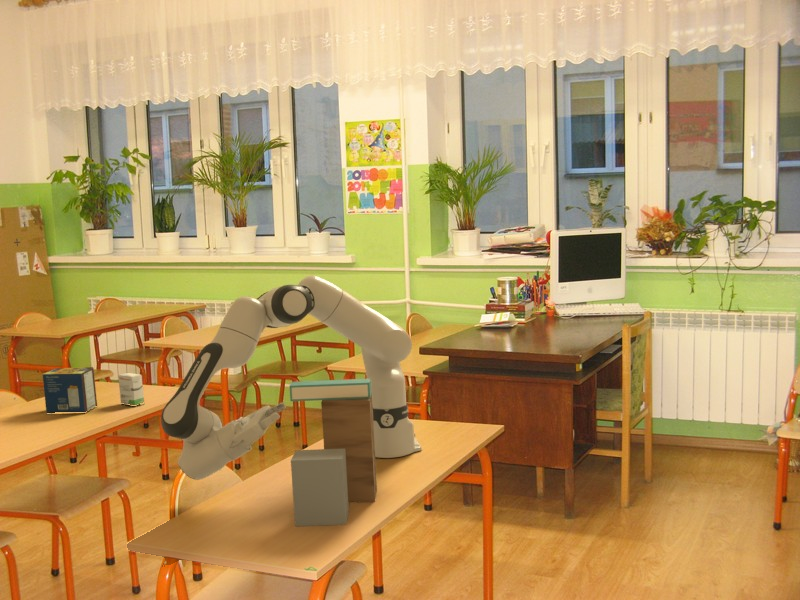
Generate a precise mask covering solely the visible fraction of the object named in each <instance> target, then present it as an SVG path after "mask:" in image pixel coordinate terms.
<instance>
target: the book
mask: <svg viewBox="0 0 800 600" xmlns="http://www.w3.org/2000/svg"><path fill="white" fill-rule="evenodd" d="M370 397H371V379H367V378H353V379H350V378H349V379H331V380H330V379H329V380H328V379H327V380H326V379H325V380H303V381H302V380H301V381H292V382H291V383H290V384H289V398H290V399H289V400H290V402H309V401H322V400H339V399H365V398H370Z"/></svg>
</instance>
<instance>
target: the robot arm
mask: <svg viewBox="0 0 800 600" xmlns="http://www.w3.org/2000/svg"><path fill="white" fill-rule="evenodd" d="M308 315H309V316H311V317H312V316H313V317H314V319H316V320H318V321H319V322H321V323H322V324H324V325H325V326H326V327H328V328H329V329H331V330H333V331H335V332H336V333H338V334H339V335H341V336H342V337H344V338H346V339H347V340H349V341H350V342H352V343H354V344H355V345H357V346H358V347H360V348H361V354H362V355H361V356H362V360H363V365H364V368H365V369H364V370H365V374H366V379H371V392H372V403H373V422H374V441H375V458H383V459H391V458H399V457H404V456H408V455H410V454H413V453H417V452H420V451H422V450H423V449H422V445H421V444H420V442H419V441H418V439H417V437H416V434H415V430H414V429H415V428H414V427H415V426H414V422H412V420H410V419H409V407H408V403H407V395H406V393H407V392H406V377H405V374H404V372H403V369H402V366H401V362H403V361H405V360H406V359H407V358H408V357H409V356H410V354H411V352H412V348H413V347H412V346H413V343H412V338H411V337H410V335H409V333H408V332H407V331H406V330H405V329H404V328H403V327H401V325H399V324H397V323H396V322H394V321H392V320H391V319H389V318H388V317H386V316H384V315H383V314H381V313H380V312H378V311H377V310H375V309H373V308H371V307H370V306H368V305H366V304H365V303H363V302H361V300H359V299H358V298H356V297H355V296H353V295H351V294H350V293H348V292H347V291H346V290H344V289H342V288H341V287H339V286H338V285H336V284H334V283H333V282H331V281H329V280H327V279H324V278H323V277H320V276H317V275H314V274H310V275H308V276H305V277H304V278H302V280H301V281H299V283H298V284H285V285H282V286H277V287H274V288H272V289H270V290H269V291H266V292H263V294H260V295H259V297H257V298H255V297H251V296H245V295H244V296H240V297H237V298H236V299H235V300H234V301H233V302H232V304H231V306H230V307H229V309H228V310H227V311H226V313H225V315H224V318H223V319H222V321H221V323H220V325H219V328H218V330H217V332H216V334H215V336H214V337H213V339H212V340H211V341H210V343H208V344H206V345H205V346H204V347H203V348H202V349H201V350H200V352H199V353H198V354H197V356H196V358H195V360H194V361H193V363H192V365H191V367H190V368H189V370H188V372H187V373H186V375H185V377H184V379H183V380H182V382H181V384H180V386H179V387H178V389H177V390H176V392H175V394H173V396H172V397H170V399H169V401H168V402H167V403H166V404H165V406H164V408H162V411H161V416H160V424H161V429H162V430H163V432H164V433H165V434H166V435H167V436H170V437H173V438H176V439H179V440H182V441H183V442H182V443H183V444H182V446H183V447H182V450H181V454H180V456H179V457H178V458H177V464H178V467H179V468H180V470H181V471H182V472H183V474H184V475H186V477H188V478H190V479H192V480H195V481H200V480H202V479H206V478H208V477H210V476H212V475H213V474H215V473H217V472H218V471H220V470H221V469H223V468H224V467H225V466H226V465H227V464H228V463H230V462H232V461H235V460H237V459H239V458H241V457H242V456H243V455H245V454H247V453H248V452H251V450H252V449H253V443H255V442H256V441H258V440H259V439H261V438H262V437H263V436H264V434H265V433H266V431H267V430H268V428H269V427H270V426H272V425H273V424H274V423H275V422H277V421H278V420H279V419H280V417H281V415H280V414H279V413H281V412H283V411H285V409H286V408H287V406H286V405H285V403H284V402H283V401H281V402H279V403H278V404H276V405H275V406H270V404H269V405H264V406H262V407H261V408H258V409H256V410H255V411H252V412H250V413H249V414H247V415H246V416H245V417H243V416H240V417H238V418H237V419H234V420H231V421H229V422H228V423H226V424H225V425H223V423H222V420H221V417H219V415H217V414H216V413H215V412H213V411H211V410H210V409H208V408H206V407H203V406H201V405H200V400H201V398H202V396H203V395H204V393H205V391H206V389H207V388H208V386H209V384H210V382H211V380H212V378H214V376H215V374H216V373H217V372H219V371H221V370H225V369H236V368H240V367H242V366H244V365H246V364H248V362H249V361H250V360H251V358H252V356H253V355H254V353H255V352H256V348H257V346H258V343H259V342H260V341H259V340H260V338H261V335H262V333H263V331H264V330H265V329H266V328H268V329H278V328H285V327H290V326H291V325H293V324H297V323H300V322H301V321H303V319H304V318H305V317H306V316H308Z"/></svg>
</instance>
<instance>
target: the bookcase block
mask: <svg viewBox="0 0 800 600" xmlns="http://www.w3.org/2000/svg"><path fill="white" fill-rule="evenodd" d="M320 404H321V405H320V406H321V420H322V421H321V422H322V437H323V438H322V439H323V449H345V453H346V470H347V488H348V504H349V503H374V502H376V500H377V499H376V498H377V492H378V485H377V483H378V482H377V481H378V480H377V467H376V466H377V461H376V457H375V441H374V422H373V403H372V392H371V397H370V398H365V399H339V400H321V403H320Z"/></svg>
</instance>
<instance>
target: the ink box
mask: <svg viewBox="0 0 800 600" xmlns="http://www.w3.org/2000/svg"><path fill="white" fill-rule="evenodd" d="M117 376H118V386H119V395H120V397H119V398H120V404H121V403H124V404H130V405H137V404H140V403H143V402H144V403H145V396H144V387H143V375H142V374H139V373H132V372H126V373H121V374H118V375H117Z"/></svg>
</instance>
